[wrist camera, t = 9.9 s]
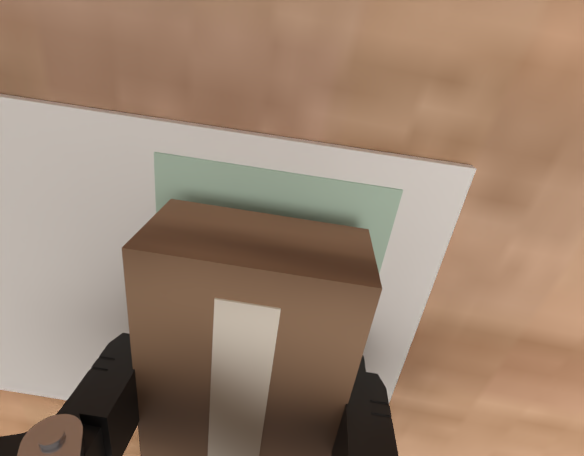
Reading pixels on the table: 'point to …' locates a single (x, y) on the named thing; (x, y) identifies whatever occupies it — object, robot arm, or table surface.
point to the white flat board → (194, 188)
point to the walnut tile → (245, 329)
